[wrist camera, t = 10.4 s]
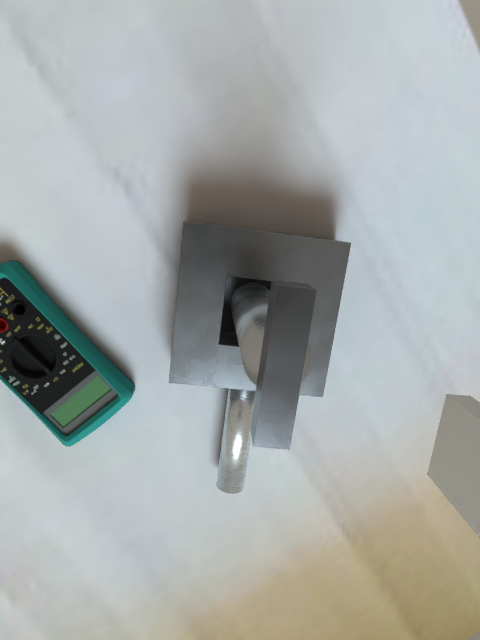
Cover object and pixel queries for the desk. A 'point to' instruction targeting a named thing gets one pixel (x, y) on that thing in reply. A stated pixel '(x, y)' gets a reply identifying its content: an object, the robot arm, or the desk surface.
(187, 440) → the desk surface
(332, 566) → the desk surface
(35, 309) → the digital multimeter
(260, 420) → the t key
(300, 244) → the block
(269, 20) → the desk surface
